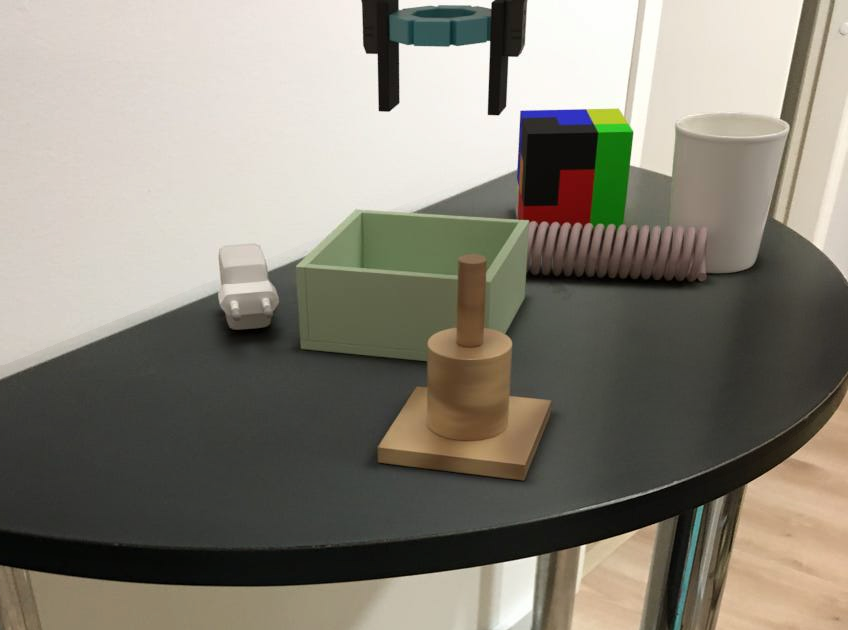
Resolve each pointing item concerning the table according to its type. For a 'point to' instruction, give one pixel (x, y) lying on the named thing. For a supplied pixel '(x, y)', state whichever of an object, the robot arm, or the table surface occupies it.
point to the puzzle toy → (573, 166)
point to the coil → (617, 251)
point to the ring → (440, 25)
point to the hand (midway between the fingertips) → (442, 108)
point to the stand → (468, 398)
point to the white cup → (726, 182)
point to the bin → (404, 280)
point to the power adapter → (246, 287)
